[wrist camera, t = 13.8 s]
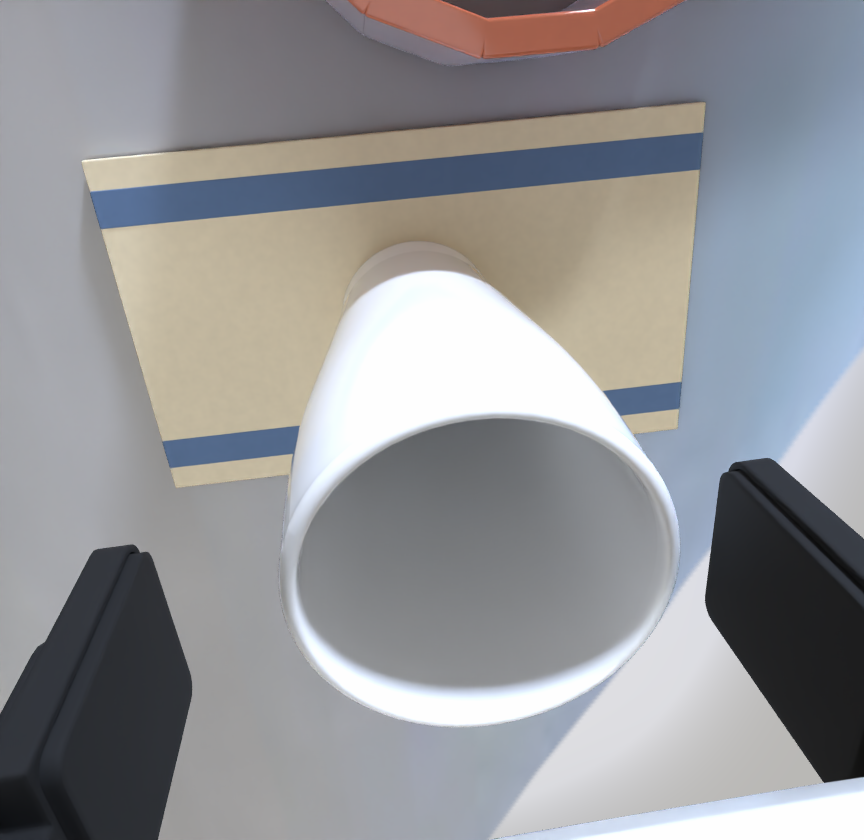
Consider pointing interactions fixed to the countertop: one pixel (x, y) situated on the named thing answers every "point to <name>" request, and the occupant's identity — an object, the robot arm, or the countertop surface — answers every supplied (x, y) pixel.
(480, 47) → the cooking pot
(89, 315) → the countertop surface
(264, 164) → the tea towel
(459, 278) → the drinking glass
